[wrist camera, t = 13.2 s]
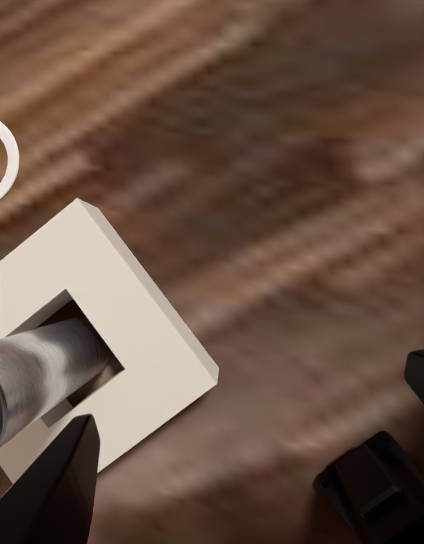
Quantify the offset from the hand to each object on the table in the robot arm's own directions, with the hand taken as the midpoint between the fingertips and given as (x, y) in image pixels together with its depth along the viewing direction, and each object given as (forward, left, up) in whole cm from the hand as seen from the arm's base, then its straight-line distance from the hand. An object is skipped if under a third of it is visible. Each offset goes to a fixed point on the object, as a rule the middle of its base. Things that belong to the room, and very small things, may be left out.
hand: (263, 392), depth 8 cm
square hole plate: (+6, +12, -14) cm, 19 cm away
